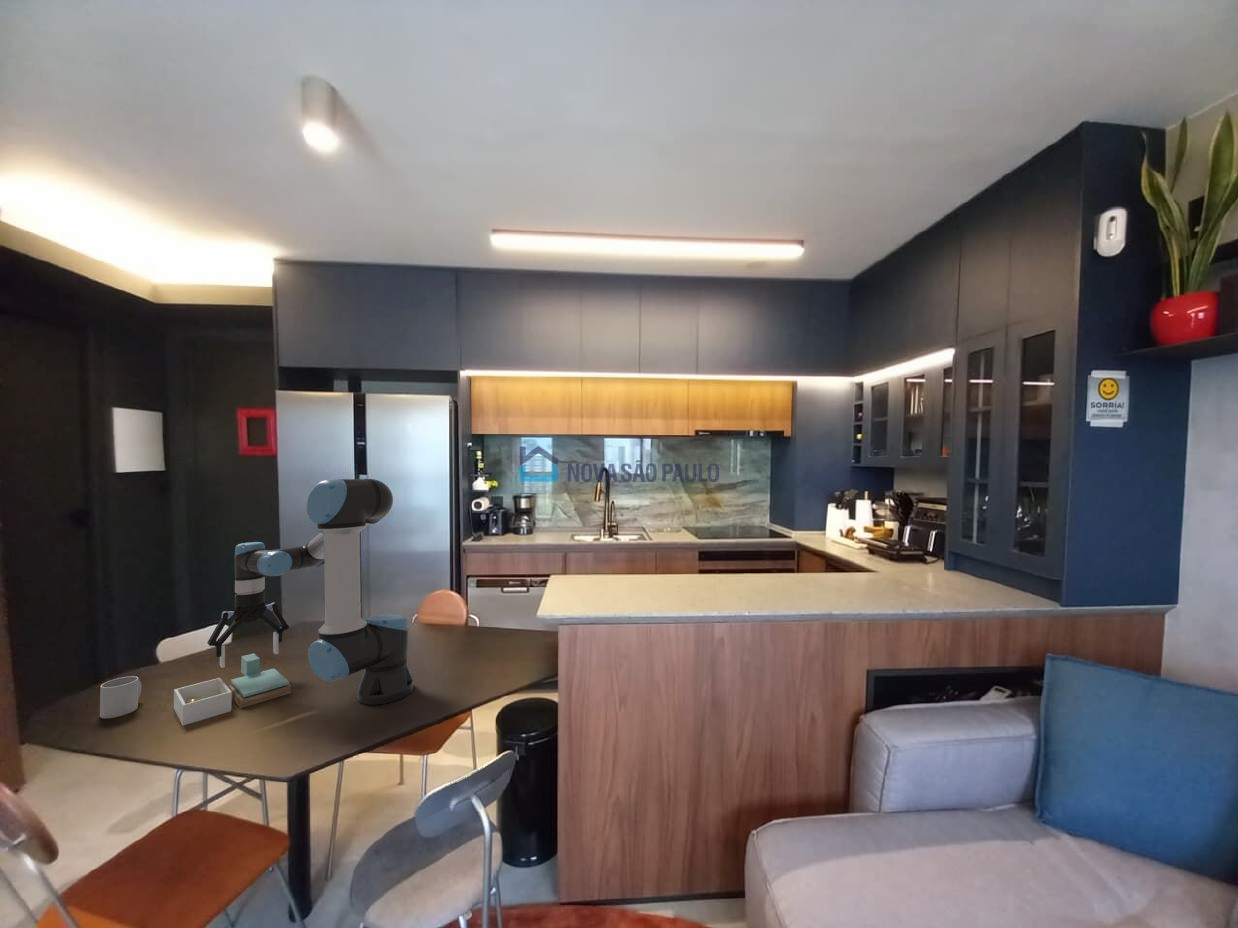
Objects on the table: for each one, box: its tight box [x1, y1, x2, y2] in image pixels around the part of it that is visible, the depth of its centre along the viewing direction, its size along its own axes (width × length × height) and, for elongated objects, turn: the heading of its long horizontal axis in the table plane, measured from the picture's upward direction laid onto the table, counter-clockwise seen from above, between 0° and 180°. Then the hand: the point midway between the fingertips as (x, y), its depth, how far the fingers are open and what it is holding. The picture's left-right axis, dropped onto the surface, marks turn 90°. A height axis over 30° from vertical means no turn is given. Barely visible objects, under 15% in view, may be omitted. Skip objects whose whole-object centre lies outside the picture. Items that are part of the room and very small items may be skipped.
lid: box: [230, 653, 290, 697], centre depth 144 cm, size 21×11×6 cm, turn 50°
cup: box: [99, 675, 142, 719], centre depth 132 cm, size 7×10×9 cm
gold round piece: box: [187, 697, 200, 703], centre depth 133 cm, size 3×3×2 cm
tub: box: [173, 677, 233, 726], centre depth 132 cm, size 14×10×6 cm
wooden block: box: [228, 683, 292, 709], centre depth 142 cm, size 14×12×3 cm
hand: (250, 659), depth 150 cm, fingers open, 13 cm apart
